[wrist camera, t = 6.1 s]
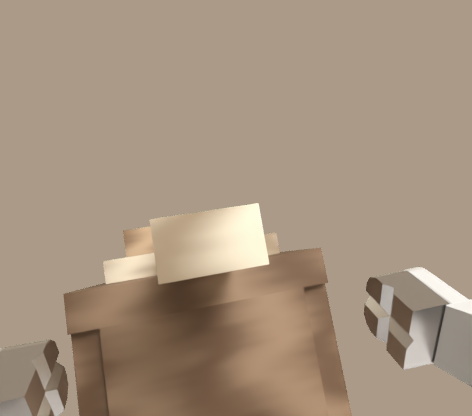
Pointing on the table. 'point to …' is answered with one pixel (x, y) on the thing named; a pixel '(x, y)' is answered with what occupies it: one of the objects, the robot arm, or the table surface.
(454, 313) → the robot arm
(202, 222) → the plywood board
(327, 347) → the walnut shelf
